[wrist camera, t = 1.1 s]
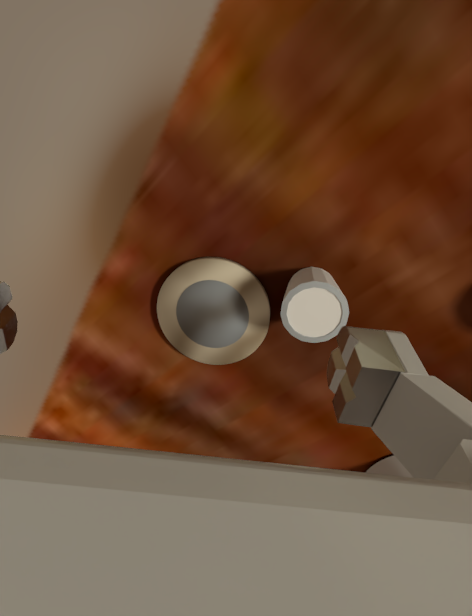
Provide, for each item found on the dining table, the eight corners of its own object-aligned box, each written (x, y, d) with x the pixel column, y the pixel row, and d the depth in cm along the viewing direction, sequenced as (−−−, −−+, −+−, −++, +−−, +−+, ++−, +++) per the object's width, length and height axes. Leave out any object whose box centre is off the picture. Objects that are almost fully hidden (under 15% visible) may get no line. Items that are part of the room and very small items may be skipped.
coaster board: (294, 307, 47) (294, 311, 46) (223, 378, 52) (221, 384, 51) (203, 232, 45) (200, 234, 44) (139, 314, 50) (135, 318, 49)
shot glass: (296, 324, 48) (296, 352, 41) (272, 276, 46) (269, 297, 39) (350, 303, 46) (359, 329, 39) (327, 251, 44) (333, 270, 37)
